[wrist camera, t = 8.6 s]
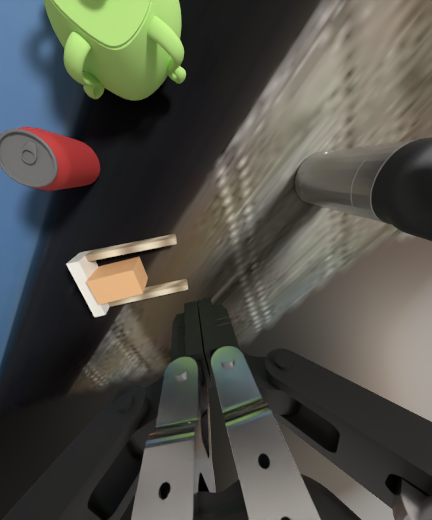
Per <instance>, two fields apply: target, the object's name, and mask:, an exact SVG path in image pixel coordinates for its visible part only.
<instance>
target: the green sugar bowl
mask: <svg viewBox="0 0 432 520" xmlns="http://www.w3.org/2000/svg"><path fill="white" fill-rule="evenodd" d="M44 3H45V7H46V11H47V15H48V17H49V20H50V22H51V25H52V27H53V30H54V32H55V33H56V35H57V37H58V39H59V41H60V43H61V44H62V46H63V47H64V49H65V50H64V65H65V68H66V70H67V72H68V73H69V74H70V76H71V77H72V78H73V79H74V80H76V81H77V82H78V83H80V84H82V85H84V91H85V92H86V94H87V95H88V96H89V97H91V98H93V99H98V98H99V97H101V96H102V94H103V92H104V88H106V89H107V90H109V91H111V92H112V93H114V94H116V95H118V96H120V97H122V98H124V99H128V100H134V101H136V100H142V99H144V98H147V97H148V96H150V95H151V94H153V93H154V92H155V91H156V90H157V89H158V88H159V87H160V86H161V85H162V83H163V82H164V81H165V79H166V78H167V76H169V77H170V78H171V79H172V80H173V81H175V82H177V83H179V84H180V83H182V82H183V81H184V79H185V77H186V72H185V70H184V69H183V68H182V67H180V65H181V63H182V61H183V57H184V48H183V45H182V43H181V41H180V36H181V9H180V4H179V0H44ZM83 71H85V72H83Z"/></svg>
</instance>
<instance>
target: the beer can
mask: <svg viewBox="0 0 432 520" xmlns="http://www.w3.org/2000/svg"><path fill="white" fill-rule="evenodd" d="M0 166H1V167H2V169H3V171H4V172H5V173H6V174H7V175H8V176H9V177H11V178H12V179H13V180H15V181H16V182H18V183H20V184H22V185H25V186H28V187H33V188H36V189H39V190H48V191H54V190H60V189H66V188H73V187H79V186H85V185H89V184H91V183H93V182H94V181H96V179H97V178H98V176H99V172H100V164H99V160H98V158H97V156H96V154H95V153H94V151H93V150H92V149H91V148H90V147H89V146H88V145H86V144H85V143H83V142H81V141H79V140H76V139H73V138H69V137H66V136H62V135H59V134H56V133H52V132H49V131H45V130H42V129H39V128H31V127H22V128H18V129H11V130H7V131H4V132H3V133H2V134H1V135H0Z"/></svg>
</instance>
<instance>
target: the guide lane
mask: <svg viewBox="0 0 432 520" xmlns="http://www.w3.org/2000/svg"><path fill="white" fill-rule="evenodd" d="M176 243H177V239H176V235H175V234H172V235H167V236H162V237H157V238H152V239H147V240H142V241H137V242H132V243H127V244H122V245H116V246H111V247H106V248H101V249H96V250H91V251H90V252H89V253H87V254H86V255H85V257H86V259H87V261H88V262H89V261H94V260H99V259H104V258H109V257H114V256H119V255H124V254H129V253H134V252H139V251H144V250H149V249H154V248H159V247H164V246H169V245H174V244H176ZM184 290H188V282H187V279H183V280H178V281H174V282H169V283H164V284H160V285H155V286H150V287H146V288H145V289H144V292H143V294H140V295H136V296H132V297H128V298H124V299H120V300H116V301H112V302H108V305H109V307H111V306H115V305H120V304H124V303H129V302H134V301H138V300H143V299H147V298H152V297H156V296H161V295H165V294H170V293H175V292H179V291H184Z"/></svg>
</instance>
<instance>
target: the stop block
mask: <svg viewBox="0 0 432 520" xmlns="http://www.w3.org/2000/svg"><path fill="white" fill-rule="evenodd" d="M89 252H90V251H86V252H81V253H79V254H78V255H76V256H75V257H74V258H73V259H71V260H70V261H69V262H68V263H67V264H66V265H67V267H68V269H69V270H70V272H71V274H72V276H73V278H74V280H75V282H76V284H77V285H78V287H79V289H80V291H81V293H82V295H83V297H84V299H85V300H86V302H87V304H88V306H89V308H90V310H91V312H92V314H93V315H94V317H98V316H102V315H106V313H107V311H108V309H109V305H108V303H105V304H101V305H99V304H98V302H97V301H96V299H95V297H94V295H93V294H92V292H91V290H90V288H89V286H88V285H87V283H86V281H87V280H88V278H89V277H90V276H91V275H92V274H93V273H94V271H95V270H96V269H97V268H98V265H97V263H96V261H95V260H94V261H89V262H88V261H87V259H86V257H85V255H86V254H87V253H89Z"/></svg>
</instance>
